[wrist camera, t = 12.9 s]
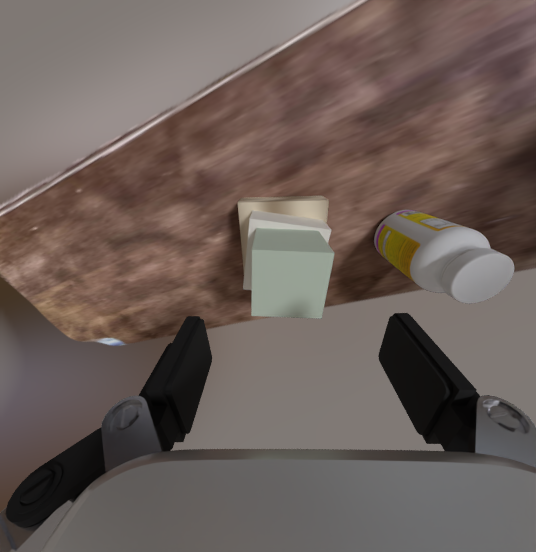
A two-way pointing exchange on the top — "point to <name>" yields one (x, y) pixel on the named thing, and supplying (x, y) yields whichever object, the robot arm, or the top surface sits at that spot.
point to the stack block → (290, 273)
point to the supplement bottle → (443, 256)
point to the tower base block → (279, 211)
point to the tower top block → (277, 222)
